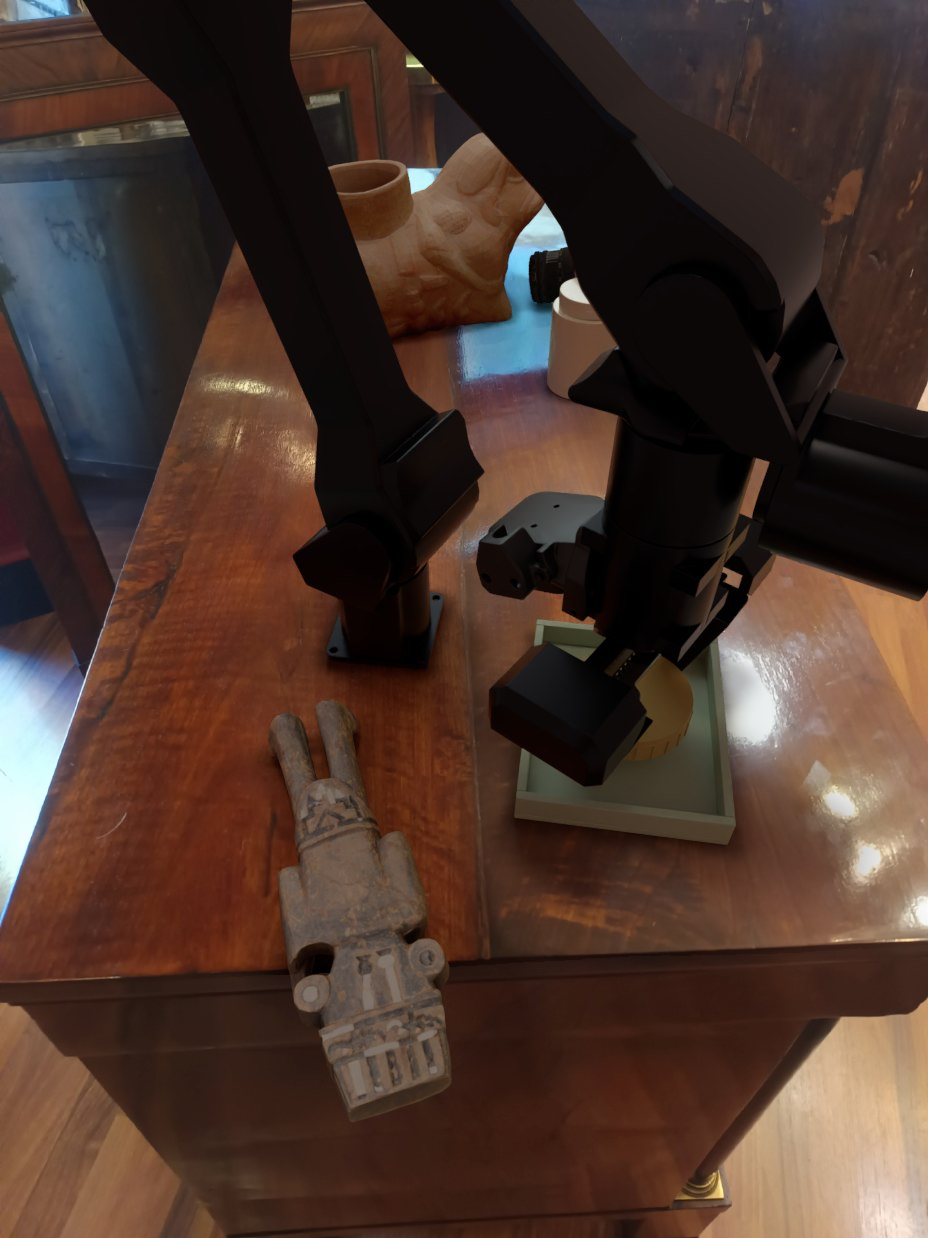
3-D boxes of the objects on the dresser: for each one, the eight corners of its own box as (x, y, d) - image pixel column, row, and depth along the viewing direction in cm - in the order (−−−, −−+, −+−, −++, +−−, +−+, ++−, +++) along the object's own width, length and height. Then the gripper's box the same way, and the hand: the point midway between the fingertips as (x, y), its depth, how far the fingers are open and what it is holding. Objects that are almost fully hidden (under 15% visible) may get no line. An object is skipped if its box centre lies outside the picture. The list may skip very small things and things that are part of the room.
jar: (616, 404, 72) (630, 309, 66) (544, 398, 73) (551, 304, 67) (617, 368, 76) (631, 276, 70) (549, 363, 77) (556, 271, 71)
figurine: (255, 774, 47) (325, 1163, 33) (233, 718, 43) (300, 1127, 29) (373, 739, 48) (487, 1099, 34) (360, 682, 45) (482, 1058, 31)
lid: (606, 647, 49) (609, 627, 48) (710, 703, 46) (716, 683, 45) (541, 718, 45) (543, 699, 44) (649, 784, 42) (655, 765, 41)
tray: (727, 845, 42) (736, 826, 41) (514, 818, 43) (515, 798, 42) (711, 658, 51) (718, 637, 50) (534, 639, 52) (536, 618, 51)
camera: (548, 280, 93) (537, 186, 86) (645, 270, 90) (641, 171, 83) (528, 340, 83) (514, 238, 76) (637, 331, 80) (632, 224, 73)
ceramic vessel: (566, 314, 84) (581, 152, 74) (317, 361, 77) (293, 190, 67) (511, 263, 93) (517, 112, 83) (284, 301, 86) (258, 142, 76)
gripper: (620, 365, 44) (589, 578, 55) (388, 540, 34) (407, 759, 45) (821, 436, 39) (743, 654, 51) (621, 666, 29) (578, 876, 40)
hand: (621, 725), depth 47 cm, fingers closed on lid, 6 cm apart
